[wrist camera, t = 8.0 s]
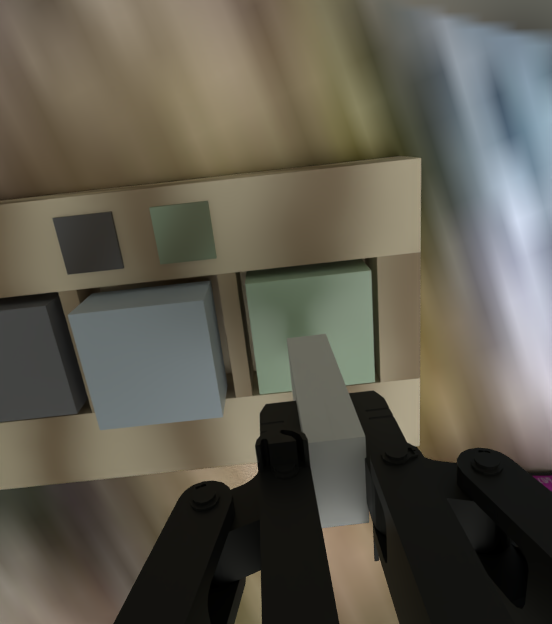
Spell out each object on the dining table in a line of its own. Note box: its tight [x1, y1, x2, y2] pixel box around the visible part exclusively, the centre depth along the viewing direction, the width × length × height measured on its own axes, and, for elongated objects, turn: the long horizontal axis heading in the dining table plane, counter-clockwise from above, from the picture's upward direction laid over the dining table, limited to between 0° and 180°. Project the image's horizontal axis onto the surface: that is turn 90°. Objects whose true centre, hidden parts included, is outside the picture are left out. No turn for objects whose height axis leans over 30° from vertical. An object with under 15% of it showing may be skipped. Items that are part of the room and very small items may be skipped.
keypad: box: [0, 156, 421, 490], centre depth 22 cm, size 24×14×3 cm, turn 96°
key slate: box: [68, 280, 228, 430], centre depth 20 cm, size 5×5×3 cm
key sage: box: [245, 259, 375, 394], centre depth 22 cm, size 5×5×3 cm
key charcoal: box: [0, 292, 88, 422], centre depth 22 cm, size 5×5×3 cm
